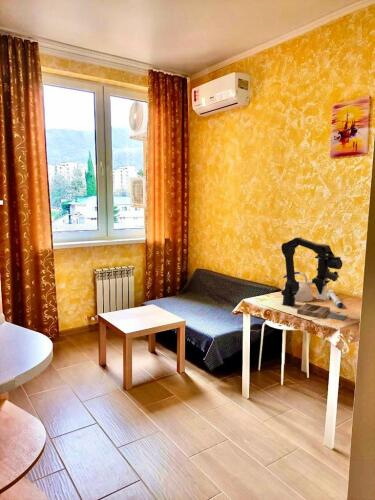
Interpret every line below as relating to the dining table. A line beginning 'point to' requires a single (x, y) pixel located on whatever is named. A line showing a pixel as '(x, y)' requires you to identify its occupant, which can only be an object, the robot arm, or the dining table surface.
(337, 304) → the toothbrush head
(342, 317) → the charcoal mat
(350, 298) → the dining table surface
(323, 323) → the dining table surface
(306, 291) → the kettle
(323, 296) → the steel nut block
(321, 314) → the walnut rail plate
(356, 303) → the dining table surface
